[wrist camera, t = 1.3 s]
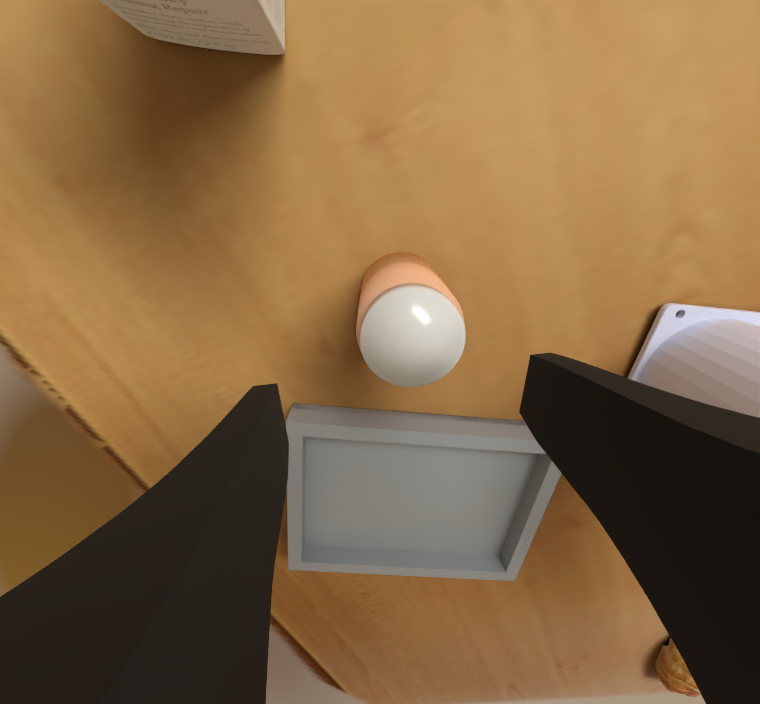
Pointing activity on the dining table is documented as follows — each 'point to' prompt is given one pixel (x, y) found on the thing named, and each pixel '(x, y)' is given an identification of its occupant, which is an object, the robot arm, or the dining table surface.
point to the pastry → (675, 671)
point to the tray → (413, 493)
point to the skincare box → (209, 23)
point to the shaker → (408, 322)
